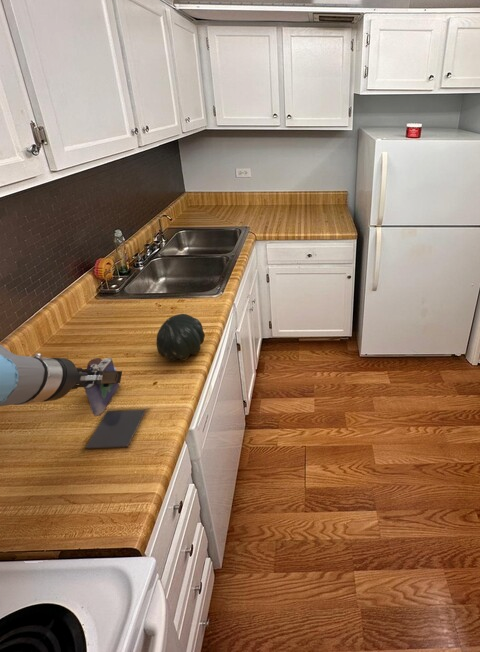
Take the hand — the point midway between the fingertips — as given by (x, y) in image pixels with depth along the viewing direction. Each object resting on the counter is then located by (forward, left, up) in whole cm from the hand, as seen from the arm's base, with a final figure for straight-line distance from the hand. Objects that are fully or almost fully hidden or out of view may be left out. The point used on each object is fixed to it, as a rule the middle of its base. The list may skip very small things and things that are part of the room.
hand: (112, 377), depth 82 cm
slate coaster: (0, -3, -14) cm, 14 cm away
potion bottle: (-9, +8, -14) cm, 19 cm away
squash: (+7, +25, -14) cm, 29 cm away
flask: (0, -4, -3) cm, 5 cm away
